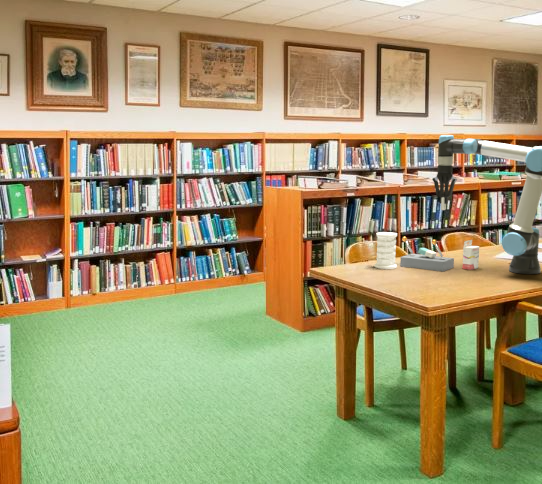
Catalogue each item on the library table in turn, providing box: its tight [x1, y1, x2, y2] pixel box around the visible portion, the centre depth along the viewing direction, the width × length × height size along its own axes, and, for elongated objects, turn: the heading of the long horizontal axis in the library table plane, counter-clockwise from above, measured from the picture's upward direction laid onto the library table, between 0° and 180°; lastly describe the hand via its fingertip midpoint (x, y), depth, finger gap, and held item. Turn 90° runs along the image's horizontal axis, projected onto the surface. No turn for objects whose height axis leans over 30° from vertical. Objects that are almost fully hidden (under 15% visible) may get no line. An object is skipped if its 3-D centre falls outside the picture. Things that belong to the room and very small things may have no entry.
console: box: [399, 253, 455, 272], centre depth 342 cm, size 24×14×6 cm, turn 53°
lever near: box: [431, 239, 444, 257], centre depth 338 cm, size 3×3×10 cm
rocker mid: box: [417, 247, 438, 258], centre depth 342 cm, size 8×5×2 cm, turn 54°
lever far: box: [401, 236, 414, 254], centre depth 348 cm, size 3×3×10 cm
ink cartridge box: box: [462, 239, 480, 271], centre depth 337 cm, size 9×5×15 cm, turn 134°
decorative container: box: [374, 231, 398, 270], centre depth 341 cm, size 12×12×18 cm
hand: (443, 209), depth 341 cm, fingers closed
